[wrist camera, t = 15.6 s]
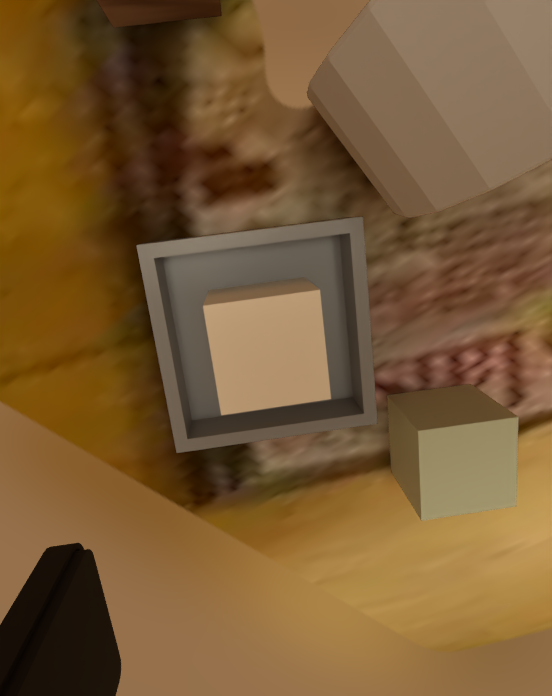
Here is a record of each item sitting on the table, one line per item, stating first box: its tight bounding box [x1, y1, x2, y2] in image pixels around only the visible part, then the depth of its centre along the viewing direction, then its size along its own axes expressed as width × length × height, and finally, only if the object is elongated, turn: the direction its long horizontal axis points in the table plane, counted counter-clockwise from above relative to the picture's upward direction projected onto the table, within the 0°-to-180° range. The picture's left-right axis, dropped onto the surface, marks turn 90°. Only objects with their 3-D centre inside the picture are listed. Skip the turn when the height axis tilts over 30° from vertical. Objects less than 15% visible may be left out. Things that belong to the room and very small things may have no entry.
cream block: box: [203, 277, 331, 415], centre depth 28 cm, size 6×6×6 cm
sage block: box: [387, 384, 518, 521], centre depth 31 cm, size 6×6×6 cm
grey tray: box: [136, 217, 378, 453], centre depth 30 cm, size 13×13×4 cm
